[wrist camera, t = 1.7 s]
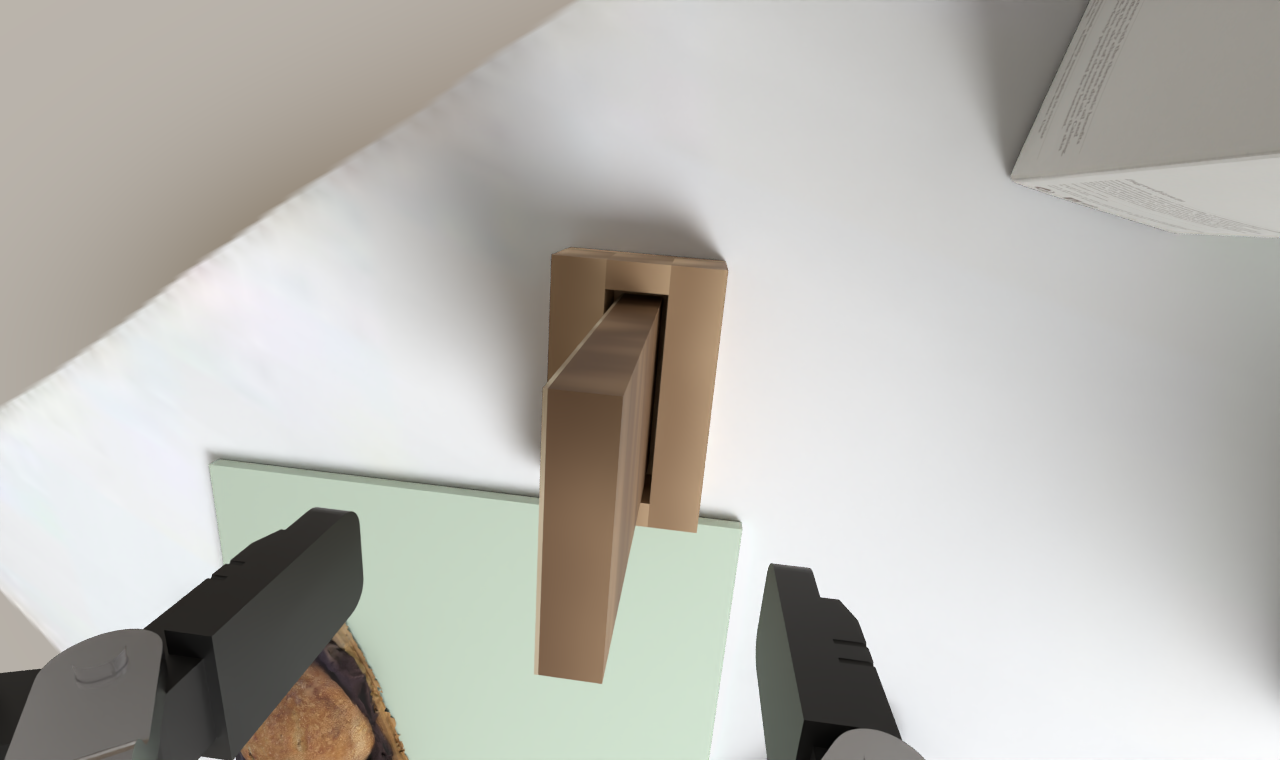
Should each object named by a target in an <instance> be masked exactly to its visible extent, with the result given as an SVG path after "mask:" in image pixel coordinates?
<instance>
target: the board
mask: <svg viewBox="0 0 1280 760" xmlns="http://www.w3.org/2000/svg"><path fill="white" fill-rule="evenodd" d="M662 307H663V297H660V296H650V295H639V294H628V293H622V294H621V295H620V296H619V297H618V298H617V300H616V301H615V302H614V303H613V304H612V306H611V307H610V308H609V309H608V310H607V312H606V313H605V314H604V315H603V316H602V318H601V319H600V320H599V321H598V322H597V324H596V325H595V326H594V327H593V328H592V330H591V331H590V332H589V333H588V334H587V336H586V337H585V338H584V339H583V340H582V342H581V343H580V344H579V345H578V346H577V348H576V349H575V350H574V351H573V352H572V354H571V355H570V356H569V357H568V358H567V360H566V361H565V362H564V363H563V364H562V366H561V367H560V368H559V369H558V370H557V371H556V373H555V374H554V375H553V376H552V377H551V379H550V380H549V381H548V382H547V383H546V385H545V386H544V387H543V394H542V427H541V460H540V492H539V525H538V557H537V590H536V623H535V655H534V674H535V675H542V676H549V677H556V678H563V679H570V680H577V681H584V682H591V683H598V684H602V682H603V678H604V673H605V668H606V663H607V659H608V654H609V649H610V644H611V640H612V635H613V630H614V625H615V621H616V616H617V611H618V606H619V602H620V597H621V592H622V587H623V583H624V578H625V573H626V568H627V564H628V559H629V554H630V549H631V545H632V540H633V535H634V530H635V526H636V521H637V516H638V511H639V507H640V502H641V497H642V492H643V488H644V483H645V478H646V473H647V469H648V464H649V453H650V442H651V431H652V420H653V408H654V397H655V386H656V375H657V363H658V352H659V341H660V330H661V319H662Z"/></svg>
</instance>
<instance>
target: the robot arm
mask: <svg viewBox="0 0 1280 760" xmlns="http://www.w3.org/2000/svg"><path fill="white" fill-rule="evenodd" d="M363 581H364V578H363V563H362V549H361V534H360V522H359V518H358V516H357V514H356V513H355V512H352V511H345V510H337V509H328V508H320V507H314V508H311V509H310V510H308V511H307V512H306V513H305V514H304V515H302V516H301V517H300V518H299V519H298V520H296V521H295V522H294V523H293V524H292V525H290V526H289V527H288V528H287V529H285V530H283V529H280V530H278V531H276V532H274V533H272V534H270V535H268V536H266V537H263V538H261V539H259V540H257V541H255V542H253V543H251V544H250V545H249V546H247V547H246V548H245V549H244V550H242V551H241V552H240V553H239V554H237V555H236V556H235V557H234V558H232V559H231V560H230V563H229V564H225V565H223V566H222V567H221V568H220V569H218V570H217V571H216V572H215V573H213V574H212V577H211V579H209V578H207V579H206V580H205V581H203V582H202V583H201V584H200V585H198V586H197V587H196V588H194V589H193V590H192V591H191V592H189V593H188V594H187V595H186V596H184V597H183V598H182V599H181V600H179V601H178V602H177V603H176V604H174V605H173V606H172V607H171V608H169V609H168V610H167V611H165V612H164V613H163V614H162V615H160V616H159V617H158V618H157V619H155V620H154V621H153V622H152V623H150V624H149V625H148V626H147V627H145V628H144V629H125V630H118V631H113V632H108V633H104V634H101V635H98V636H95V637H92V638H89V639H87V640H84V641H82V642H80V643H78V644H76V645H74V646H72V647H70V648H68V649H66V650H65V651H63V652H62V653H60V654H58V655H57V656H56V657H54V658H53V659H52V660H50V661H49V662H48V663H47V664H46V665H45V666H44V667H43V668H42V669H35V670H25V671H16V672H7V673H0V760H198V759H199V758H200V757H201V756H202V757H209V758H216V759H222V760H233V759H234V758H235V757H236V756H237V755H238V753H239V752H240V751H241V750H242V748H243V747H244V746H245V745H246V743H247V742H248V741H249V740H250V739H251V737H252V736H253V735H254V734H255V732H256V731H257V730H258V729H259V727H260V726H261V725H262V724H263V723H264V721H265V720H266V719H267V718H268V716H269V715H270V714H271V713H272V712H273V710H274V709H275V708H276V707H277V705H278V704H279V703H280V702H281V700H282V699H283V698H284V697H285V696H286V694H287V693H288V692H289V691H290V689H291V688H292V687H293V686H294V685H295V683H296V682H297V681H298V680H299V678H300V677H301V676H302V675H303V673H304V672H305V671H306V670H307V669H308V667H309V666H310V665H311V664H312V662H313V661H314V660H315V659H316V658H317V656H318V655H319V654H320V653H321V651H322V650H323V649H324V648H325V646H326V645H327V644H328V643H329V642H330V640H331V639H332V638H333V637H334V635H335V634H336V633H337V632H338V631H339V629H340V628H341V627H342V626H343V624H344V623H345V622H346V621H347V619H348V618H349V617H350V616H351V615H352V613H353V612H354V610H355V609H356V607H357V605H358V602H359V600H360V597H361V594H362V590H363ZM756 670H757V678H758V686H759V694H760V703H761V711H762V719H763V728H764V736H765V744H766V752H767V760H925V759H924V758H923V757H922V756H921V755H920V754H919V753H918V752H917V751H916V750H915V749H914V748H912V747H911V746H909V745H908V744H907V743H905V742H904V741H902V738H901V736H900V733H899V730H898V728H897V725H896V722H895V719H894V717H893V714H892V711H891V709H890V706H889V703H888V701H887V698H886V695H885V692H884V690H883V687H882V684H881V682H880V679H879V676H878V673H877V671H876V668H875V667H873V660H872V657H871V654H870V652H869V649H868V648H866V641H865V638H864V636H863V633H862V630H861V627H860V625H859V622H858V620H857V619H856V618H855V617H854V616H853V615H852V613H851V612H850V611H849V610H848V609H847V608H846V607H845V606H844V605H843V603H842V602H841V601H840V600H837V599H829V598H821V597H820V595H819V592H818V588H817V585H816V582H815V578H814V575H813V572H812V570H811V569H810V568H805V567H797V566H788V565H780V564H772V563H771V564H770V565H769V568H768V571H767V577H766V583H765V589H764V595H763V600H762V606H761V612H760V618H759V624H758V630H757V639H756Z"/></svg>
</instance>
